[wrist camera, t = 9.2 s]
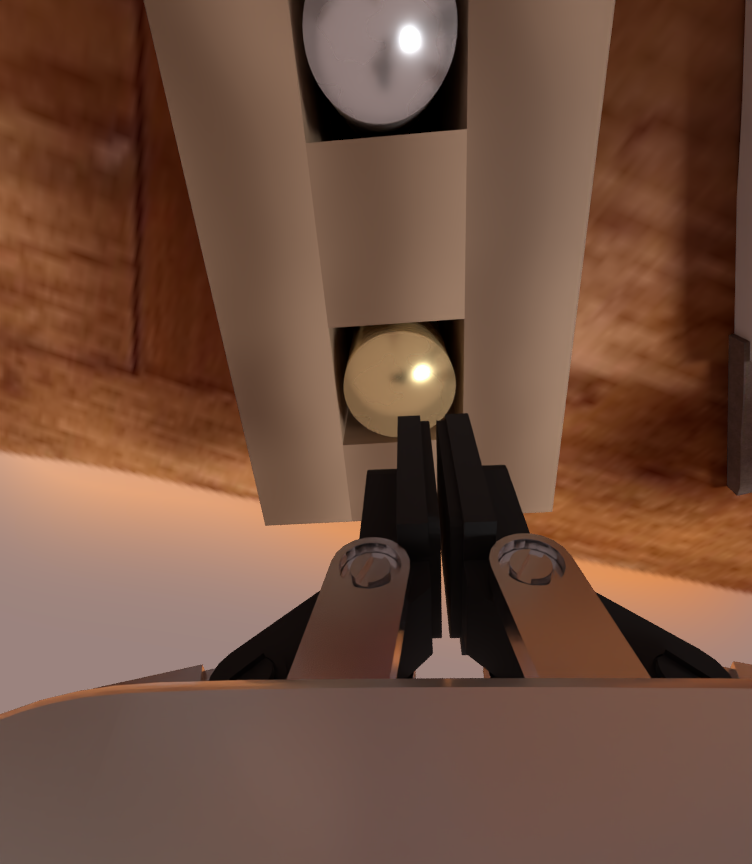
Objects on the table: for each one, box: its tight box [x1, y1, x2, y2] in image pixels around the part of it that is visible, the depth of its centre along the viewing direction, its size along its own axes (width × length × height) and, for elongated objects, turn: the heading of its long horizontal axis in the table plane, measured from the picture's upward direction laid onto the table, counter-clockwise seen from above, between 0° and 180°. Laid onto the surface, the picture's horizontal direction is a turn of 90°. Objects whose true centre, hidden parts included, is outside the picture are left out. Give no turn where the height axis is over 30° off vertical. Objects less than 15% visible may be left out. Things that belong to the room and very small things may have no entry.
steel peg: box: [303, 0, 457, 138], centre depth 16 cm, size 4×4×8 cm
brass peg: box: [344, 321, 456, 437], centre depth 21 cm, size 4×4×8 cm
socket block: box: [144, 0, 615, 526], centre depth 19 cm, size 12×22×9 cm, turn 4°
